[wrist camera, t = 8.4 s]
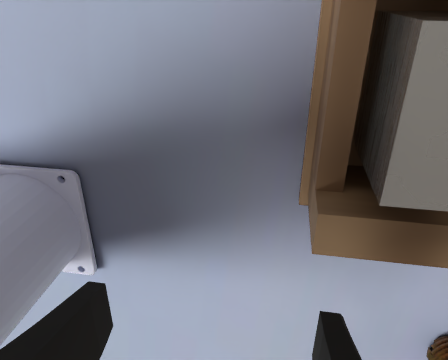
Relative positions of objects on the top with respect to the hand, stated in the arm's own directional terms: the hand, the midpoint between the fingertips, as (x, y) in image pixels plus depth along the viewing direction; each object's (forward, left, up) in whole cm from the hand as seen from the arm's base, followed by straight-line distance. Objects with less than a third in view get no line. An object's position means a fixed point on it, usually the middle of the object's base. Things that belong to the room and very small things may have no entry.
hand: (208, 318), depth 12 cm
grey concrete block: (+7, +6, -9) cm, 13 cm away
